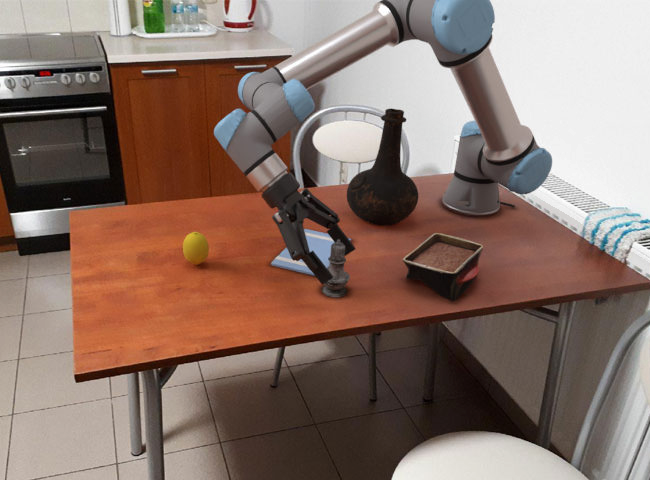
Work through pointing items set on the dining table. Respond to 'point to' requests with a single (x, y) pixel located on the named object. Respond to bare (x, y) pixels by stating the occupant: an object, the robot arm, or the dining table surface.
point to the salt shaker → (337, 272)
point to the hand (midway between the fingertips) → (339, 266)
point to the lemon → (195, 248)
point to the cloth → (315, 243)
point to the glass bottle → (384, 180)
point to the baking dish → (445, 264)
